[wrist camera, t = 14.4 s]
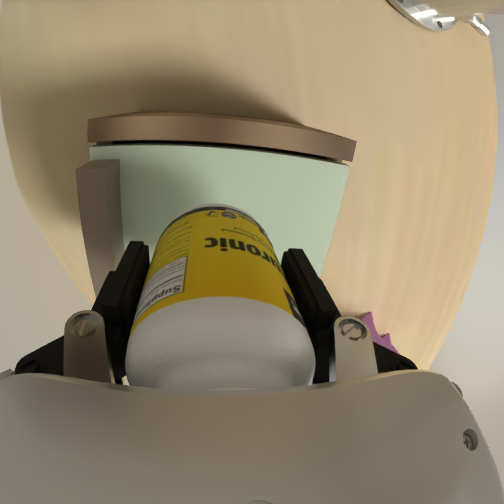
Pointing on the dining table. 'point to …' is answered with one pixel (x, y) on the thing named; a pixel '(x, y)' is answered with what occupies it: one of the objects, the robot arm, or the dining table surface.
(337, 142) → the box
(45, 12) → the dining table surface
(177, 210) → the lid
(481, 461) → the robot arm
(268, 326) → the supplement bottle
